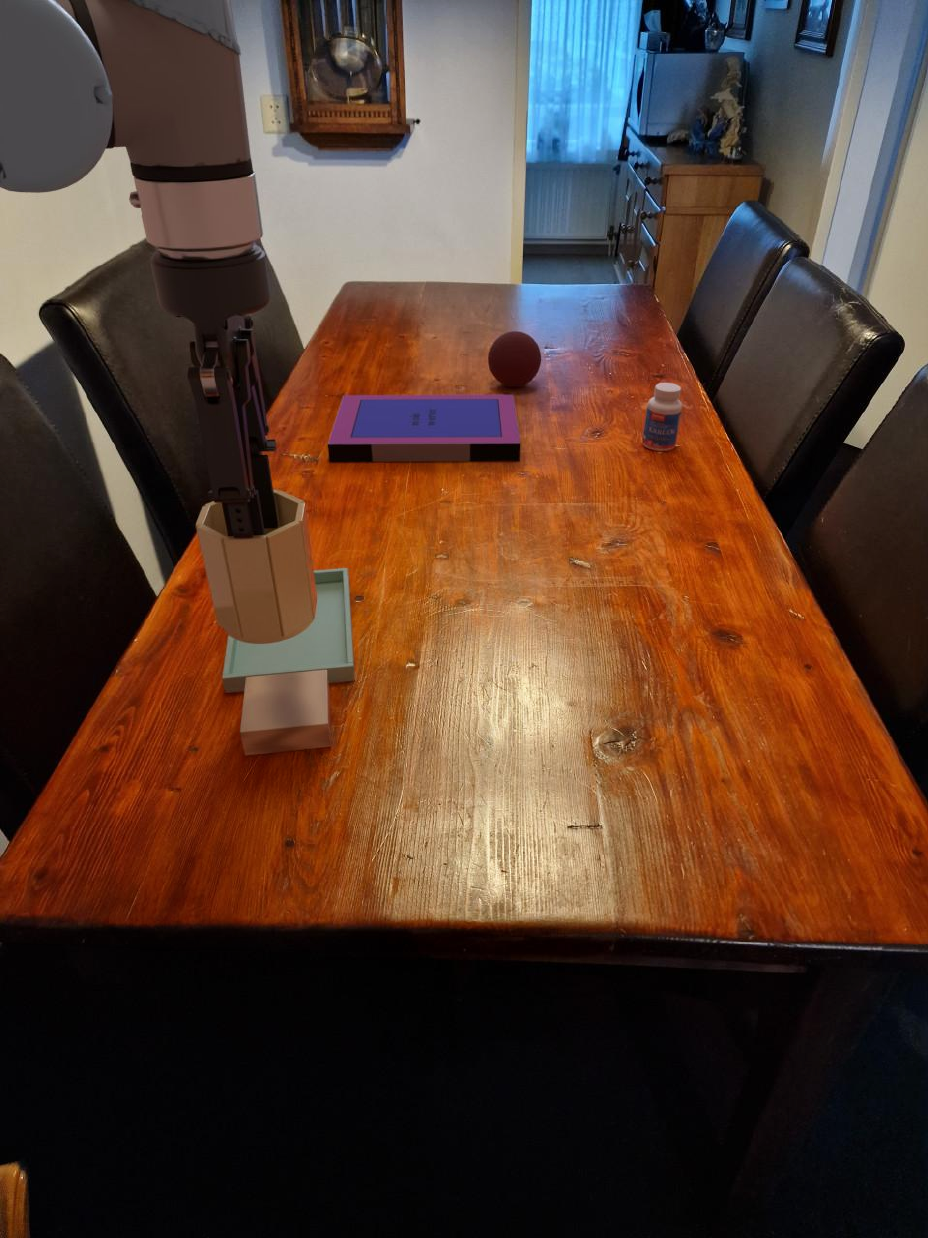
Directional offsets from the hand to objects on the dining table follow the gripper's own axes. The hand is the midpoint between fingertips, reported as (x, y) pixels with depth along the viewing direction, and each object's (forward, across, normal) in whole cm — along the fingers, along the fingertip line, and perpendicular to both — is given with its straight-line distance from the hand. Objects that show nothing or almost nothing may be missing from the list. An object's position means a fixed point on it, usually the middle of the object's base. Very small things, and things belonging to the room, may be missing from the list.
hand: (257, 545), depth 68 cm
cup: (+7, 0, 0) cm, 7 cm away
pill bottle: (+20, -62, +54) cm, 85 cm away
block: (+20, 0, 0) cm, 20 cm away
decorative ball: (+20, -92, +34) cm, 100 cm away
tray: (+20, -15, -1) cm, 25 cm away
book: (+20, -69, +17) cm, 74 cm away
